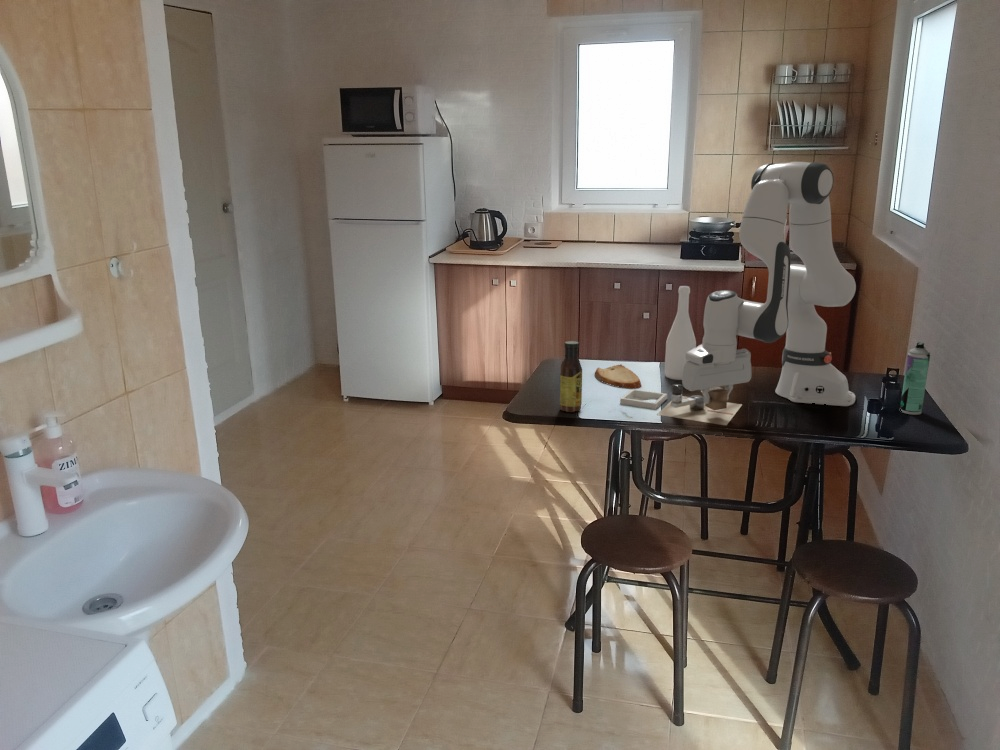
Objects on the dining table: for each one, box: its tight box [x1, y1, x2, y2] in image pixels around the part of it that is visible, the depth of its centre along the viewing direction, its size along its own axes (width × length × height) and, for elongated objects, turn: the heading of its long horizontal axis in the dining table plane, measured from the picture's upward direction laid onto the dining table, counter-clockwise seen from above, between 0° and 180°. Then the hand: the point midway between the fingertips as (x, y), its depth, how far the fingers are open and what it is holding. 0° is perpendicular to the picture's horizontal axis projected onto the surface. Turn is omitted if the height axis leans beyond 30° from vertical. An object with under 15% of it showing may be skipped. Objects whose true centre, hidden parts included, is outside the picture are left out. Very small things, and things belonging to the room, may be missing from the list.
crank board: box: [656, 395, 743, 426], centre depth 214 cm, size 19×20×2 cm
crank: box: [670, 383, 705, 410], centre depth 212 cm, size 11×4×8 cm, turn 121°
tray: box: [619, 388, 668, 410], centre depth 222 cm, size 11×11×3 cm
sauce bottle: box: [559, 340, 583, 413], centre depth 217 cm, size 7×6×20 cm
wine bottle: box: [663, 285, 697, 381], centre depth 247 cm, size 10×10×30 cm
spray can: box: [899, 342, 931, 416], centre depth 213 cm, size 6×6×20 cm
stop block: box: [705, 386, 728, 410], centre depth 207 cm, size 4×4×5 cm
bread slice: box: [594, 364, 642, 389], centre depth 249 cm, size 18×18×4 cm
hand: (716, 401), depth 207 cm, fingers closed on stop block, 4 cm apart
